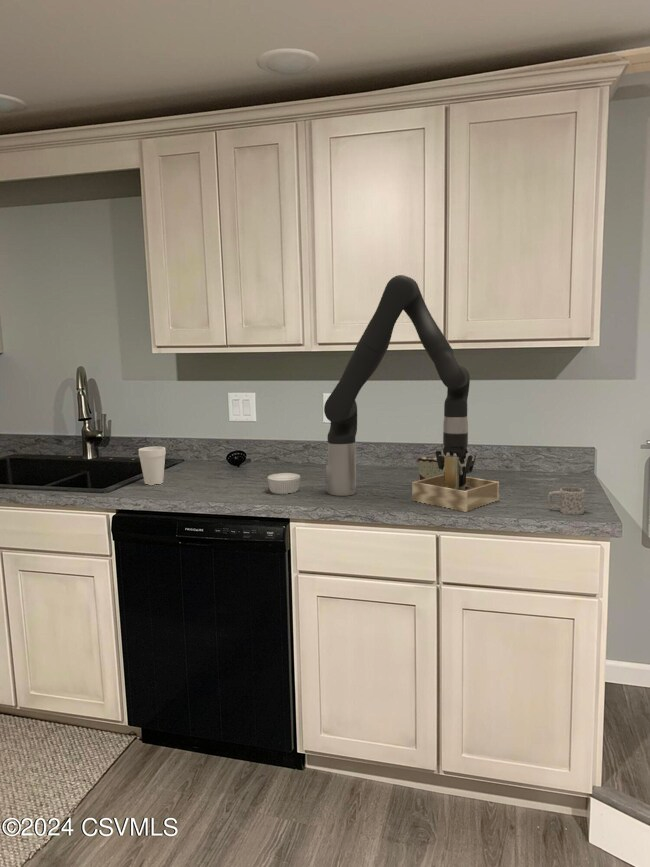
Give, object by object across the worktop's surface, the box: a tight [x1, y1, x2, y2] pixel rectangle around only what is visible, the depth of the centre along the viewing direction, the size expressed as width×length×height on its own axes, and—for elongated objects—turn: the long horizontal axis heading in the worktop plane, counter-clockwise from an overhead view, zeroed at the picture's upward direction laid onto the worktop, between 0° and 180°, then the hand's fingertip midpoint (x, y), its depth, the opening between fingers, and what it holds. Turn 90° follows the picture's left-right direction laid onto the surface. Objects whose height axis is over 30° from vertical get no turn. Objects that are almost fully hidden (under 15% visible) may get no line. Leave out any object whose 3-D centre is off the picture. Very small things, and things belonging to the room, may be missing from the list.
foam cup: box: [138, 445, 167, 485], centre depth 244 cm, size 10×9×13 cm
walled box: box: [411, 474, 500, 513], centre depth 211 cm, size 20×18×6 cm
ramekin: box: [267, 472, 301, 495], centre depth 229 cm, size 11×11×5 cm
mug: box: [547, 486, 586, 516], centre depth 196 cm, size 10×7×7 cm, turn 71°
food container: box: [415, 454, 445, 481], centre depth 233 cm, size 12×6×10 cm, turn 48°
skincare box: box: [444, 455, 465, 490], centre depth 210 cm, size 6×4×12 cm
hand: (454, 484), depth 210 cm, fingers closed on skincare box, 4 cm apart
